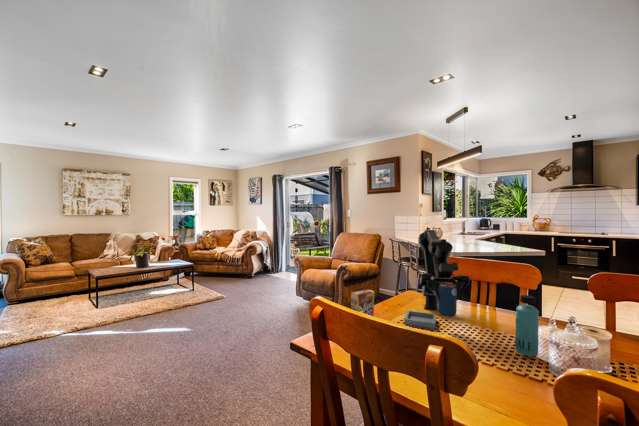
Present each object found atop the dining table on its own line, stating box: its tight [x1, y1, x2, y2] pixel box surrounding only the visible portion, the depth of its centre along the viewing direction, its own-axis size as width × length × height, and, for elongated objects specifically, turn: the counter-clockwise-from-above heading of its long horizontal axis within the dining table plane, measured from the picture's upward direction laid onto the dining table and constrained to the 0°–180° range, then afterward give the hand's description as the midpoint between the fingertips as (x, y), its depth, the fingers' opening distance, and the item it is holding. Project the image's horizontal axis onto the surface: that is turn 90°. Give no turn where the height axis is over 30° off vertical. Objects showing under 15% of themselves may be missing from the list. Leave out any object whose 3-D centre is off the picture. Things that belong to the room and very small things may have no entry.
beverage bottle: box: [514, 294, 540, 357], centre depth 99 cm, size 6×7×20 cm
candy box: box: [350, 289, 375, 316], centre depth 119 cm, size 9×4×15 cm, turn 123°
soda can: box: [437, 283, 458, 318], centre depth 120 cm, size 7×7×12 cm
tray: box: [403, 309, 437, 331], centre depth 129 cm, size 12×12×2 cm
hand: (447, 299), depth 119 cm, fingers closed on soda can, 7 cm apart
